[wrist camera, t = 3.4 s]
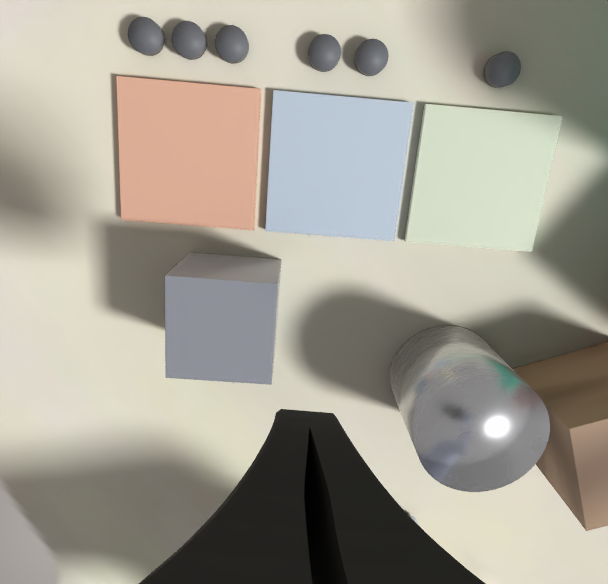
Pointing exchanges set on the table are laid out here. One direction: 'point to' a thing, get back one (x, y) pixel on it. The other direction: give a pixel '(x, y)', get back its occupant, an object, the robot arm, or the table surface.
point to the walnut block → (576, 429)
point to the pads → (328, 153)
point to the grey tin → (467, 410)
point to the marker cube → (221, 318)
